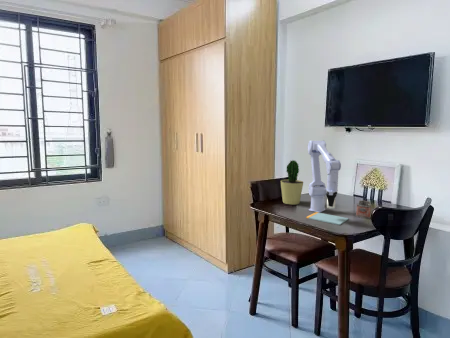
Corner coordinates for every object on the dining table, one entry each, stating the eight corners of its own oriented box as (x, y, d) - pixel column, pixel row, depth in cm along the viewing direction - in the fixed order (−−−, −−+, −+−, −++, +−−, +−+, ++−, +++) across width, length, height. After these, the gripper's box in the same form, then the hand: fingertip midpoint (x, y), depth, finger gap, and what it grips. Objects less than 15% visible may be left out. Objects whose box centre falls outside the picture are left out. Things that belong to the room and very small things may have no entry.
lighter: (354, 216, 193) (356, 200, 191) (357, 215, 195) (358, 199, 194) (369, 219, 187) (370, 202, 186) (371, 218, 190) (372, 201, 188)
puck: (327, 206, 188) (327, 197, 188) (335, 207, 187) (335, 198, 186) (326, 208, 184) (326, 199, 183) (334, 208, 183) (335, 200, 182)
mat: (316, 213, 199) (316, 212, 199) (348, 219, 187) (348, 218, 187) (306, 218, 188) (306, 217, 188) (339, 225, 176) (339, 223, 176)
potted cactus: (287, 198, 236) (288, 157, 231) (306, 202, 226) (308, 159, 221) (275, 202, 224) (276, 159, 220) (295, 206, 214) (297, 161, 210)
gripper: (326, 179, 191) (324, 201, 193) (323, 183, 178) (322, 207, 180) (338, 180, 189) (337, 202, 191) (337, 184, 175) (335, 208, 177)
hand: (331, 205), depth 185 cm, fingers closed on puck, 4 cm apart
